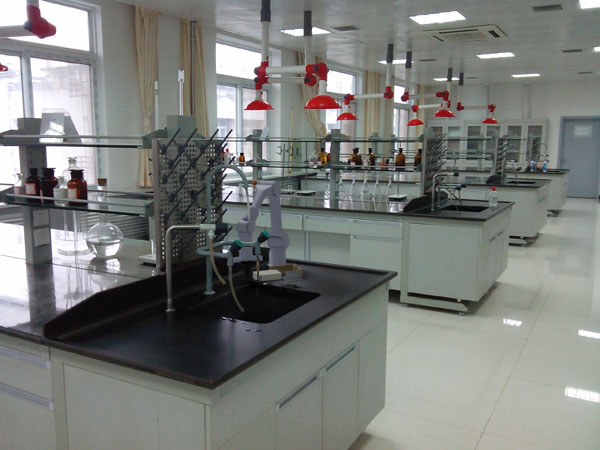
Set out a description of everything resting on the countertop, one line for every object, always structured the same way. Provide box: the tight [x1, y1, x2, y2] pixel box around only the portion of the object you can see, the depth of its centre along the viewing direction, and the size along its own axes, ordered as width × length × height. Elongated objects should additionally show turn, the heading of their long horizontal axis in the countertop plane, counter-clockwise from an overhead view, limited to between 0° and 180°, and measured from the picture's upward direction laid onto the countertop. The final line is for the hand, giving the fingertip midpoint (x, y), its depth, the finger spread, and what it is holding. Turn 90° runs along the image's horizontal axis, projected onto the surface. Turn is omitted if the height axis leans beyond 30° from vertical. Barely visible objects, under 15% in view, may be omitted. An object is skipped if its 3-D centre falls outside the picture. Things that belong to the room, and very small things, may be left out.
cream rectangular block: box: [252, 269, 282, 282], centre depth 233 cm, size 7×11×3 cm, turn 112°
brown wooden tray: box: [268, 263, 304, 279], centre depth 236 cm, size 11×12×4 cm
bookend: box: [284, 270, 304, 282], centre depth 230 cm, size 4×7×4 cm, turn 112°
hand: (246, 277), depth 229 cm, fingers closed
